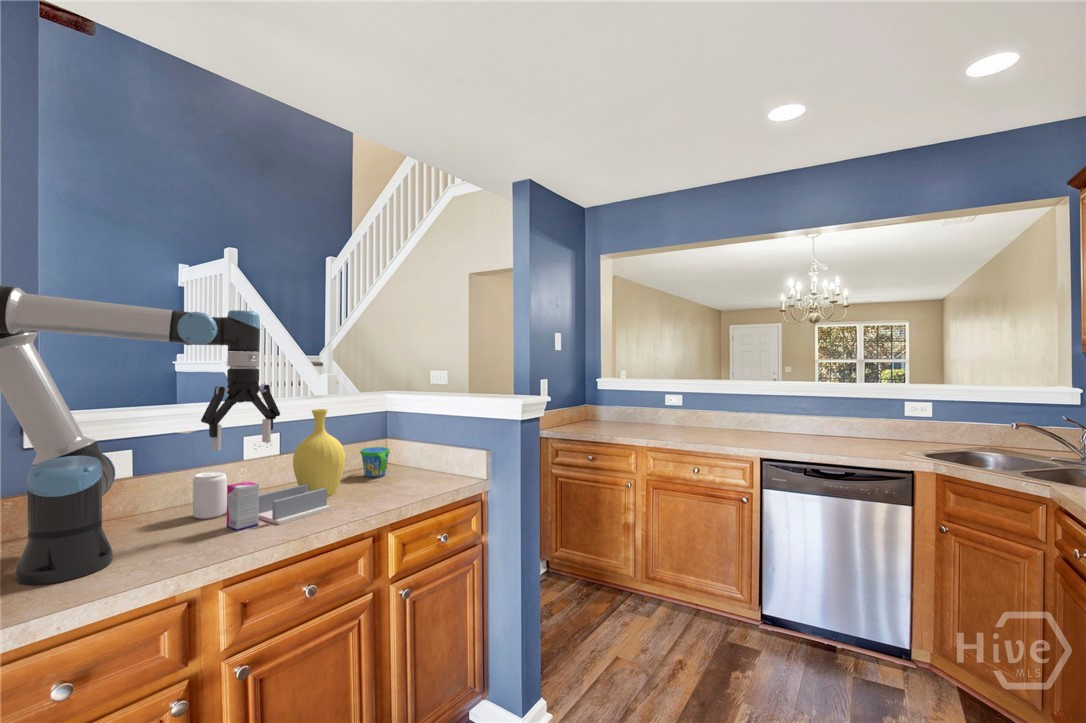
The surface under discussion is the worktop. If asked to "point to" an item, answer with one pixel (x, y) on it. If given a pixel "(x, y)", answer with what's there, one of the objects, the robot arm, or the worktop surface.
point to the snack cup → (375, 461)
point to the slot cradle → (292, 504)
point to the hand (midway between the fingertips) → (242, 445)
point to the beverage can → (209, 494)
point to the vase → (319, 458)
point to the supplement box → (242, 505)
